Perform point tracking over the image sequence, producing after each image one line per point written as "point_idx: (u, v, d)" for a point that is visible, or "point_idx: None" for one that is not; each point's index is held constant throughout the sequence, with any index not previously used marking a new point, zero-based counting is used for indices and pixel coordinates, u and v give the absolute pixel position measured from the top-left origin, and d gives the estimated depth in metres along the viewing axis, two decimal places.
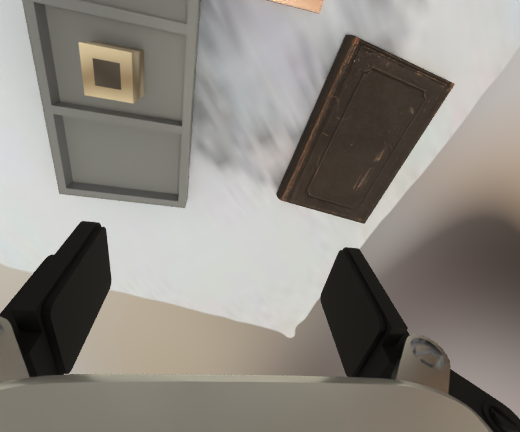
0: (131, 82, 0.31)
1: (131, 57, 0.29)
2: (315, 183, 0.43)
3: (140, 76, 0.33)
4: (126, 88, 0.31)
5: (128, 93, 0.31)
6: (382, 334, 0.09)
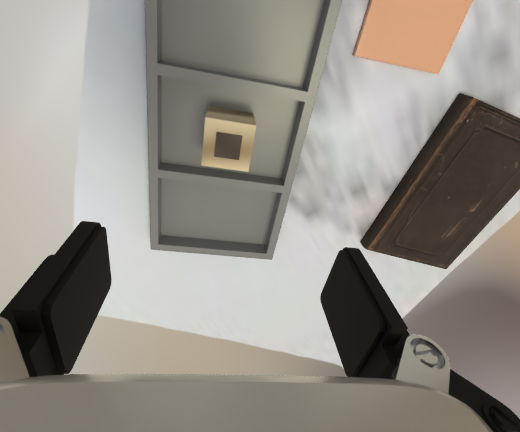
0: (250, 152, 0.30)
1: (255, 129, 0.28)
2: (405, 234, 0.42)
3: None
4: (244, 158, 0.30)
5: (245, 162, 0.30)
6: (382, 334, 0.09)
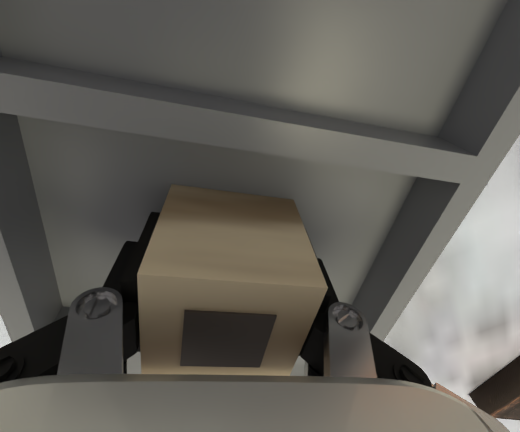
0: (297, 349, 0.09)
1: (321, 298, 0.08)
2: None
3: None
4: (277, 362, 0.10)
5: (279, 370, 0.10)
6: None
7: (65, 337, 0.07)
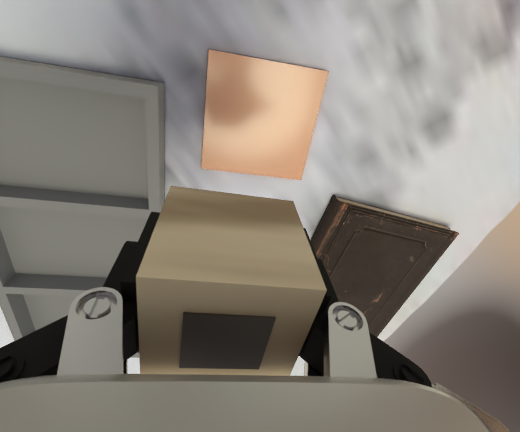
0: (296, 351, 0.09)
1: (320, 300, 0.08)
2: None
3: None
4: (276, 363, 0.10)
5: (278, 371, 0.10)
6: None
7: (65, 337, 0.07)
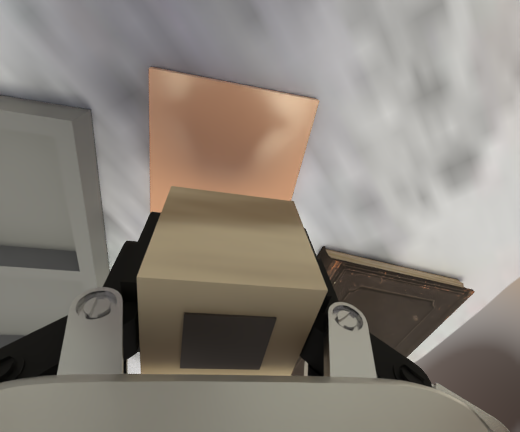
0: (297, 352, 0.09)
1: (321, 300, 0.08)
2: None
3: None
4: (277, 364, 0.10)
5: (278, 372, 0.10)
6: None
7: (65, 337, 0.07)
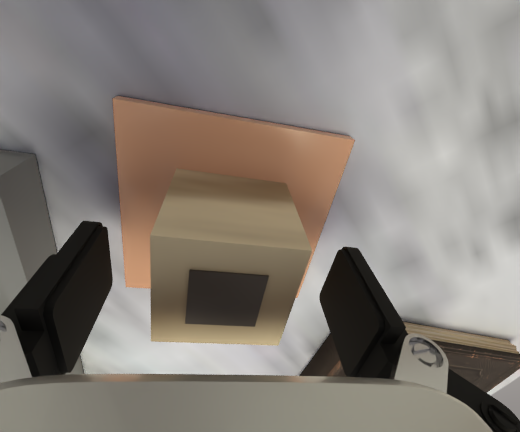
0: (288, 310, 0.11)
1: (307, 260, 0.09)
2: None
3: None
4: (270, 322, 0.11)
5: (272, 330, 0.11)
6: (381, 333, 0.09)
7: None
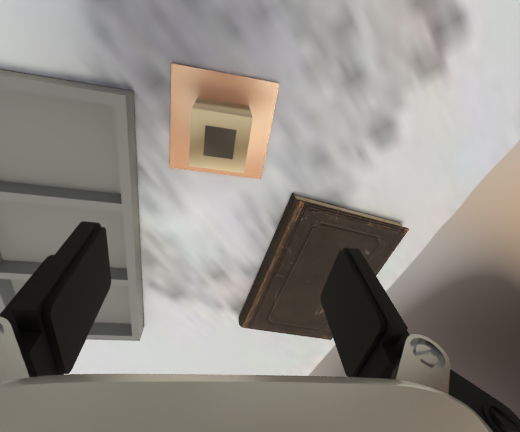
0: (246, 150, 0.25)
1: (251, 122, 0.24)
2: (275, 313, 0.43)
3: None
4: (239, 157, 0.26)
5: (240, 162, 0.26)
6: (382, 334, 0.09)
7: None
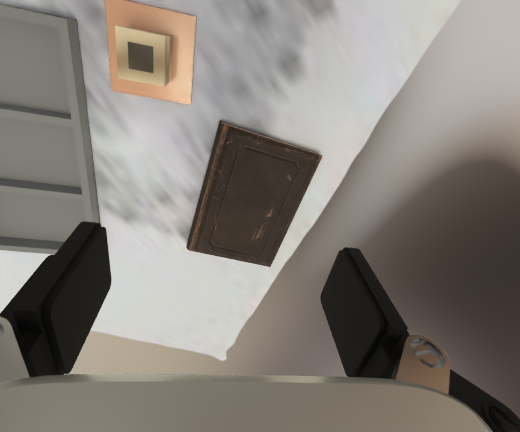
0: (163, 65, 0.32)
1: (164, 40, 0.31)
2: (217, 236, 0.49)
3: (169, 61, 0.34)
4: (158, 72, 0.32)
5: (160, 76, 0.32)
6: (382, 334, 0.09)
7: None
